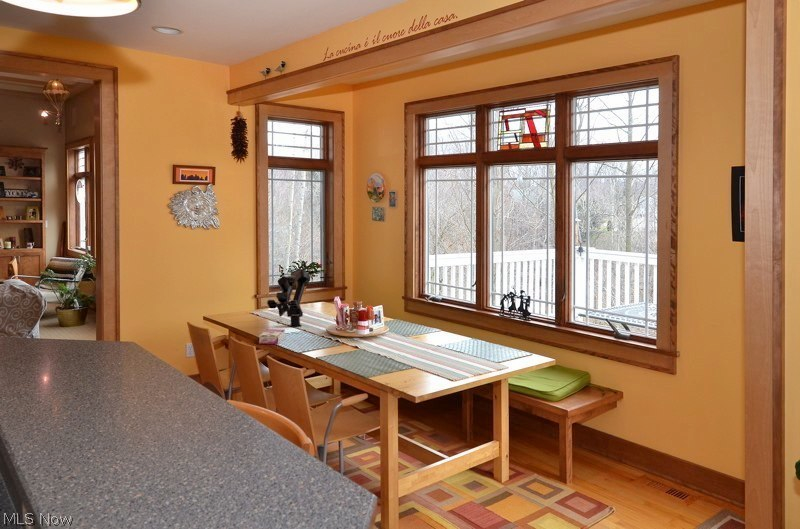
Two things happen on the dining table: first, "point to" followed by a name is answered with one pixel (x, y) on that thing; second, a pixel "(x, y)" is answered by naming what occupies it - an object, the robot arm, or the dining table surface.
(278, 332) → the candy bar box
